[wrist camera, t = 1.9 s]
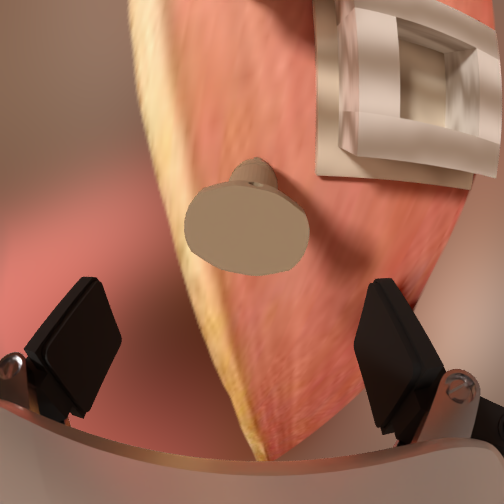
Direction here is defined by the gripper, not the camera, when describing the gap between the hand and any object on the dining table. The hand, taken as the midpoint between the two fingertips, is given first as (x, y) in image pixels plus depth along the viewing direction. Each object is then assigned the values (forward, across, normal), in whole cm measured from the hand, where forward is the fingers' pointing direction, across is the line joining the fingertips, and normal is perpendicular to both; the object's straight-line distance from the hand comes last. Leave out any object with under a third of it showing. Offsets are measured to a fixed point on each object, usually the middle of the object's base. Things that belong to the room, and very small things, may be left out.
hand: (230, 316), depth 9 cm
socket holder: (+21, -16, -12) cm, 29 cm away
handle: (+21, 0, -1) cm, 21 cm away
